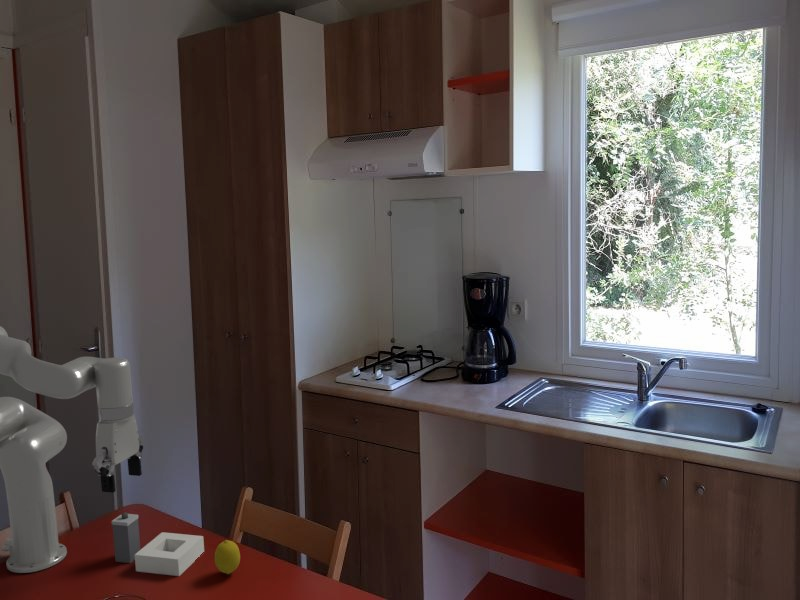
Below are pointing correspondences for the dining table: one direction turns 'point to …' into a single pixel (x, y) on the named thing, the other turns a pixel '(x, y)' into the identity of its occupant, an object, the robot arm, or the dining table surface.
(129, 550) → the plug
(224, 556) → the lemon
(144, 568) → the socket
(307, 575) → the dining table surface
